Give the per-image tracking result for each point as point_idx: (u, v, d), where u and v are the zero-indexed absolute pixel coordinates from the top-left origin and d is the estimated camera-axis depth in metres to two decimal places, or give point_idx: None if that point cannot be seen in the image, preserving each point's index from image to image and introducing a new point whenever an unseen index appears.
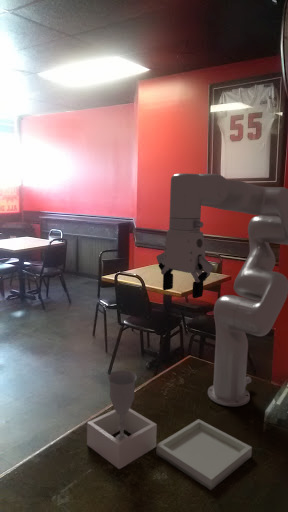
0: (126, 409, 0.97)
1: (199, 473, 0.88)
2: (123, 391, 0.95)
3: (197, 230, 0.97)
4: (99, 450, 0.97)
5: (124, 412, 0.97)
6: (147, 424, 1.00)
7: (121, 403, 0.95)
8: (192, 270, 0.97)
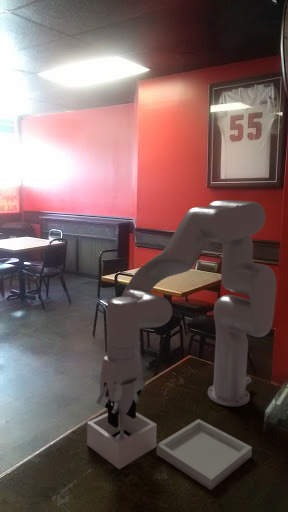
0: (126, 409, 0.97)
1: (199, 473, 0.88)
2: (123, 391, 0.95)
3: None
4: (99, 450, 0.97)
5: (124, 412, 0.97)
6: (147, 424, 1.00)
7: (121, 403, 0.95)
8: (141, 387, 1.00)
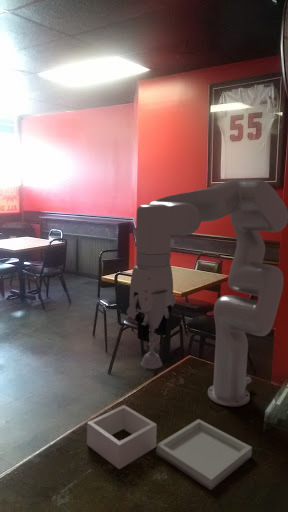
0: (157, 322, 0.92)
1: (199, 473, 0.88)
2: (154, 302, 0.90)
3: None
4: (99, 450, 0.97)
5: (154, 326, 0.93)
6: (147, 424, 1.00)
7: (151, 315, 0.91)
8: (172, 302, 0.95)
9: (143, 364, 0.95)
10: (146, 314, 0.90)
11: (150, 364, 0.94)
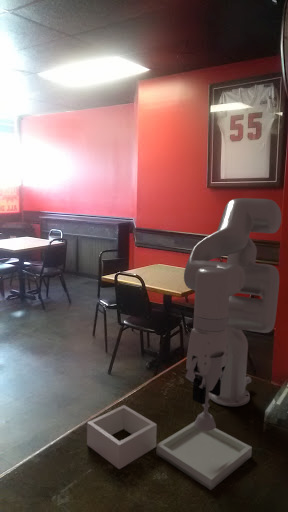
0: (213, 385, 0.92)
1: (199, 473, 0.88)
2: (212, 365, 0.90)
3: None
4: (99, 450, 0.97)
5: (211, 388, 0.93)
6: (147, 424, 1.00)
7: (209, 378, 0.91)
8: (226, 362, 0.95)
9: (197, 425, 0.94)
10: (204, 377, 0.90)
11: (204, 426, 0.93)
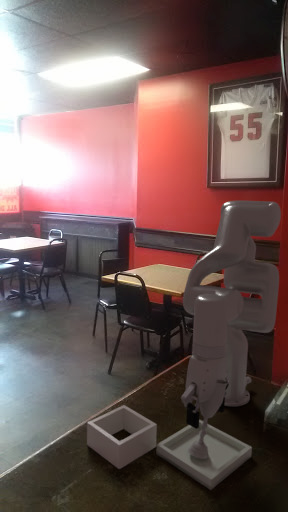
0: (214, 412, 0.94)
1: (199, 473, 0.88)
2: (217, 391, 0.93)
3: None
4: (99, 450, 0.97)
5: (211, 415, 0.94)
6: (147, 424, 1.00)
7: (212, 403, 0.93)
8: None
9: (191, 452, 0.94)
10: (199, 402, 0.91)
11: (199, 454, 0.94)
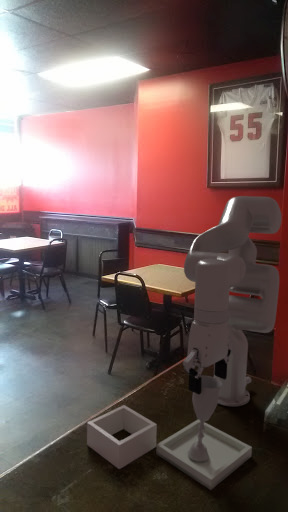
0: (209, 415, 0.93)
1: (199, 473, 0.88)
2: (210, 395, 0.91)
3: None
4: (99, 450, 0.97)
5: (206, 418, 0.93)
6: (147, 424, 1.00)
7: (205, 408, 0.92)
8: (227, 353, 0.95)
9: (191, 455, 0.95)
10: (201, 367, 0.90)
11: (198, 456, 0.94)
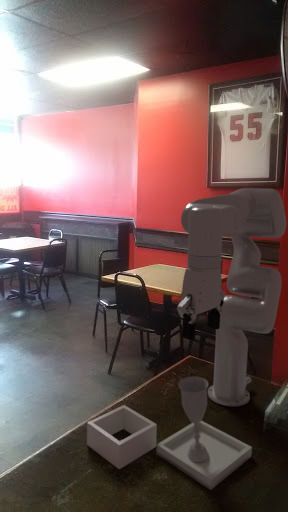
0: (201, 417, 0.92)
1: (199, 473, 0.88)
2: (197, 399, 0.90)
3: None
4: (99, 450, 0.97)
5: (199, 420, 0.93)
6: (147, 424, 1.00)
7: (195, 411, 0.91)
8: (220, 303, 0.96)
9: (190, 457, 0.95)
10: (195, 313, 0.91)
11: (197, 457, 0.94)
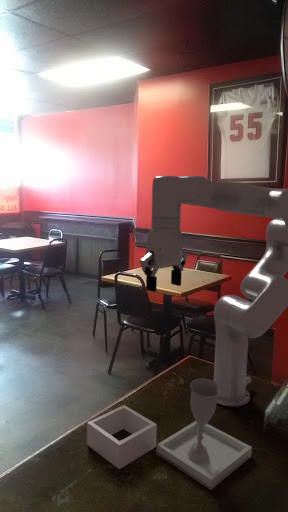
0: (208, 420, 0.92)
1: (199, 473, 0.88)
2: (208, 402, 0.89)
3: None
4: (99, 450, 0.97)
5: (205, 423, 0.92)
6: (147, 424, 1.00)
7: (204, 414, 0.90)
8: (181, 261, 1.10)
9: (190, 457, 0.95)
10: (156, 268, 1.04)
11: (197, 458, 0.94)
